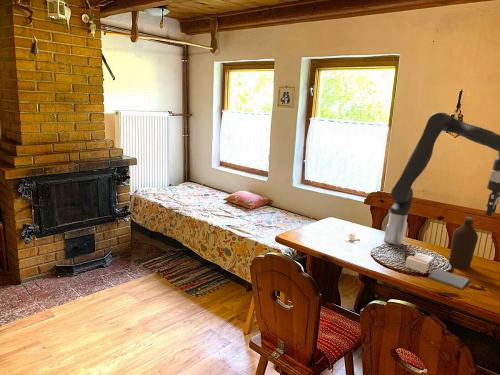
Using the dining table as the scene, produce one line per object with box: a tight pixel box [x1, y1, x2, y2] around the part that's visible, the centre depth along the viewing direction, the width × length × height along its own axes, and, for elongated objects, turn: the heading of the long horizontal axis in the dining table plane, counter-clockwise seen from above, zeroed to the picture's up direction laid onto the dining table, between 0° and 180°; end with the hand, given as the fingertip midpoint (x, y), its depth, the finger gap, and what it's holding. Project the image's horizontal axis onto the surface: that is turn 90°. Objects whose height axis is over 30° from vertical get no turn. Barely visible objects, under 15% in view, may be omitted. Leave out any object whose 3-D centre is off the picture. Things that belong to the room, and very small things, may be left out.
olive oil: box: [448, 216, 479, 270], centre depth 183 cm, size 11×11×25 cm
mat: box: [428, 268, 470, 290], centre depth 169 cm, size 14×12×1 cm
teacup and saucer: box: [344, 232, 361, 244], centre depth 209 cm, size 9×8×4 cm
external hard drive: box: [414, 252, 435, 264], centre depth 189 cm, size 2×8×12 cm
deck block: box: [404, 255, 430, 274], centre depth 177 cm, size 9×4×5 cm, turn 47°
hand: (490, 213), depth 175 cm, fingers open, 8 cm apart
